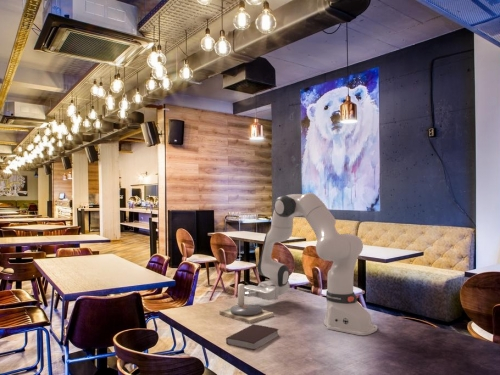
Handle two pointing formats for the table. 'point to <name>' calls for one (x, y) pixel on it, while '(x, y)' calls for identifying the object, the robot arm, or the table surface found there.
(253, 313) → the grey post stand
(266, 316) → the plate
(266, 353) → the table surface
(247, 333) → the book
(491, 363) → the table surface
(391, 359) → the table surface
